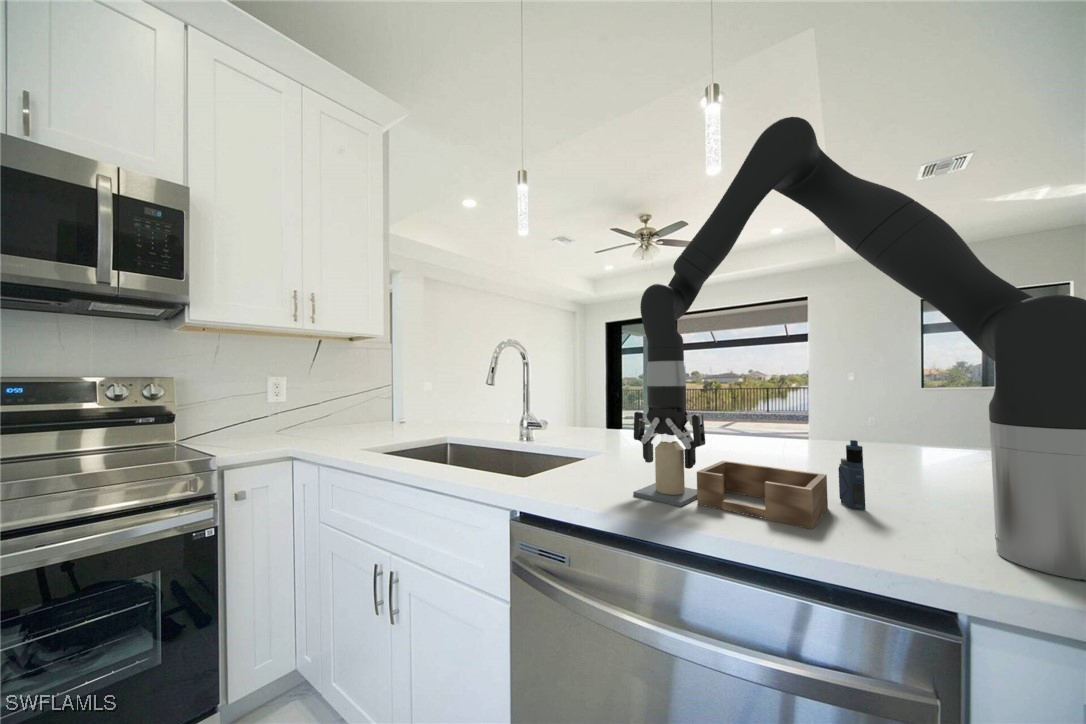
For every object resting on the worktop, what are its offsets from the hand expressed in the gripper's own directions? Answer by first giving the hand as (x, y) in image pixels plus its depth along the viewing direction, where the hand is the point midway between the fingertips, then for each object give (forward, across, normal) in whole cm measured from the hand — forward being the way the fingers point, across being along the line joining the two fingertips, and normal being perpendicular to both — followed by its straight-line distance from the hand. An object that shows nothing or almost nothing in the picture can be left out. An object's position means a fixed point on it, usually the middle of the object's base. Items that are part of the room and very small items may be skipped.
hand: (668, 464), depth 80 cm
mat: (+6, 0, 0) cm, 6 cm away
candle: (+6, 0, 0) cm, 6 cm away
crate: (+6, -15, -5) cm, 17 cm away
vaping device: (+6, -27, -16) cm, 32 cm away
